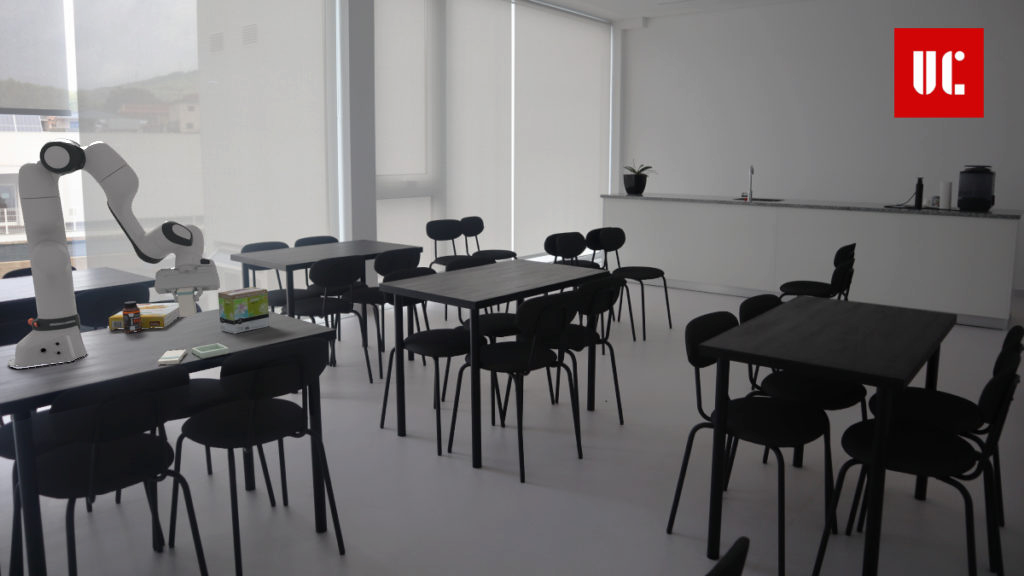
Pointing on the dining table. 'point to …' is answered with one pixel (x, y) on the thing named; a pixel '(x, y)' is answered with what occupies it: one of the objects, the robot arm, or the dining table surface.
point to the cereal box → (150, 315)
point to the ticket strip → (172, 357)
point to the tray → (210, 350)
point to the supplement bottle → (131, 317)
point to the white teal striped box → (186, 302)
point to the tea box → (243, 309)
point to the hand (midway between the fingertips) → (186, 301)
